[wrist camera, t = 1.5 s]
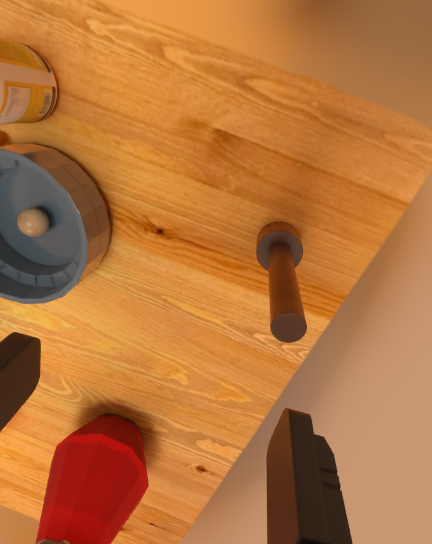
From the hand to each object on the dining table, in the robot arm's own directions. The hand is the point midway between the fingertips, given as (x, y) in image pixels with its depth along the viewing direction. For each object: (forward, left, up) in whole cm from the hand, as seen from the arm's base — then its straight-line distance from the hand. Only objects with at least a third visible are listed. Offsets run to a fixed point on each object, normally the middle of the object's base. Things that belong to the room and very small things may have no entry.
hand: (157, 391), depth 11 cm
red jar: (+36, +16, -26) cm, 47 cm away
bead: (+17, -12, -24) cm, 31 cm away
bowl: (+17, -12, -26) cm, 33 cm away
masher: (-1, +6, -26) cm, 27 cm away
